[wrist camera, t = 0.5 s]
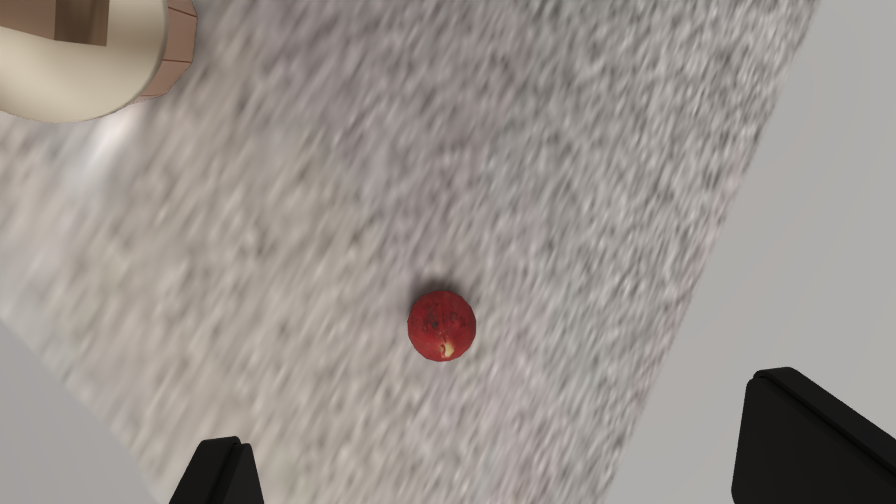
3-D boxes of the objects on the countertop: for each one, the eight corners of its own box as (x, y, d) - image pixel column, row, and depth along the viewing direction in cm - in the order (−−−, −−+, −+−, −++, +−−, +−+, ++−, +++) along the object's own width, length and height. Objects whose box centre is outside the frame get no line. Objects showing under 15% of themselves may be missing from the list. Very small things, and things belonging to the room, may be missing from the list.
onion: (395, 292, 46) (397, 334, 38) (455, 267, 46) (469, 305, 38) (420, 344, 48) (427, 394, 40) (477, 321, 48) (495, 367, 40)
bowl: (13, -109, 34) (-78, -155, 27) (205, -50, 36) (164, -79, 29) (9, 77, 37) (-73, 77, 30) (185, 121, 39) (145, 129, 33)
